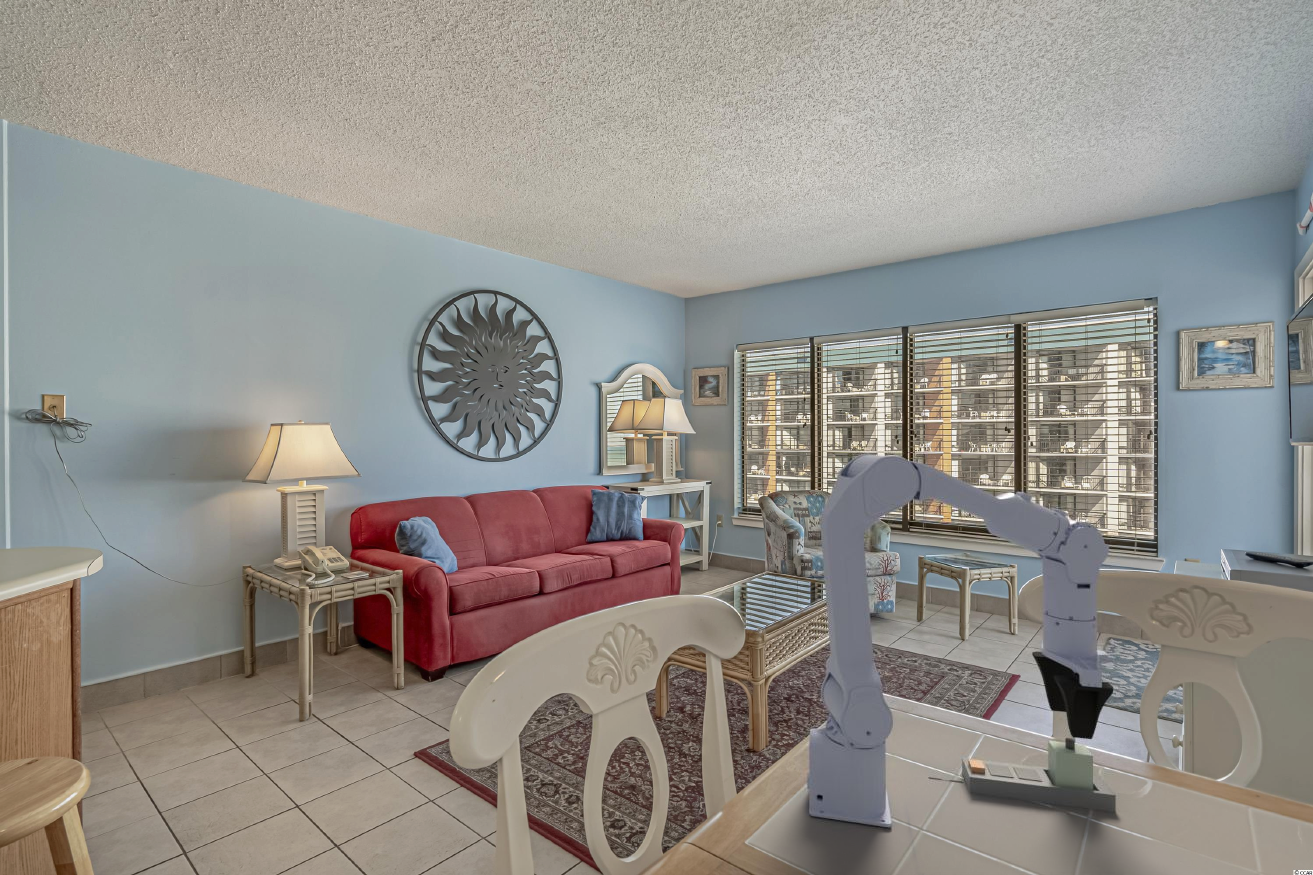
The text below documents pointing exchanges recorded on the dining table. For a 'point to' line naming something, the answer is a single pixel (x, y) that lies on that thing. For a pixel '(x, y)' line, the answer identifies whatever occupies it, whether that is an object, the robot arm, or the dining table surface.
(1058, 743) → the charger
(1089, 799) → the power strip
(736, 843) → the dining table surface
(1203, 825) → the dining table surface
